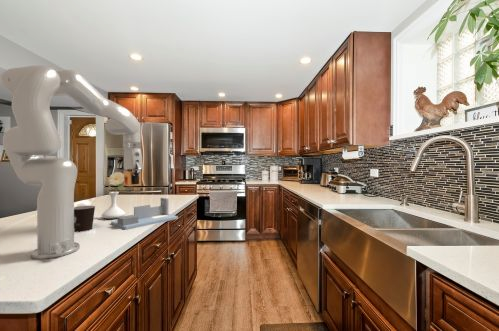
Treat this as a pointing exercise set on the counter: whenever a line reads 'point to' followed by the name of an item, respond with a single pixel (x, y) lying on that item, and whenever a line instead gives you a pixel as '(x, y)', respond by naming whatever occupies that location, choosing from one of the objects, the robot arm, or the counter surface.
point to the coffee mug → (83, 218)
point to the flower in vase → (114, 197)
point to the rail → (145, 216)
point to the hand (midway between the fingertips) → (132, 183)
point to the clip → (130, 178)
